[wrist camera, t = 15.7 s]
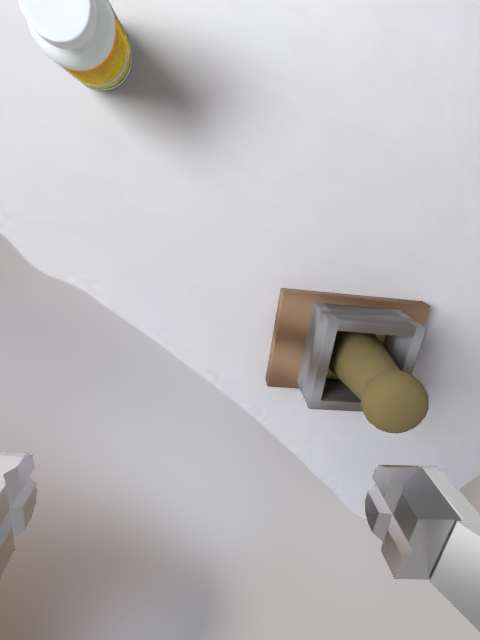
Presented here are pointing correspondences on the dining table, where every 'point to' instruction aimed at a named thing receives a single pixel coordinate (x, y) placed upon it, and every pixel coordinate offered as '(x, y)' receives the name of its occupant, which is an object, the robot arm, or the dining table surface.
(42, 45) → the supplement bottle
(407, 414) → the tan rounded piece
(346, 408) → the holder
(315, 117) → the dining table surface
